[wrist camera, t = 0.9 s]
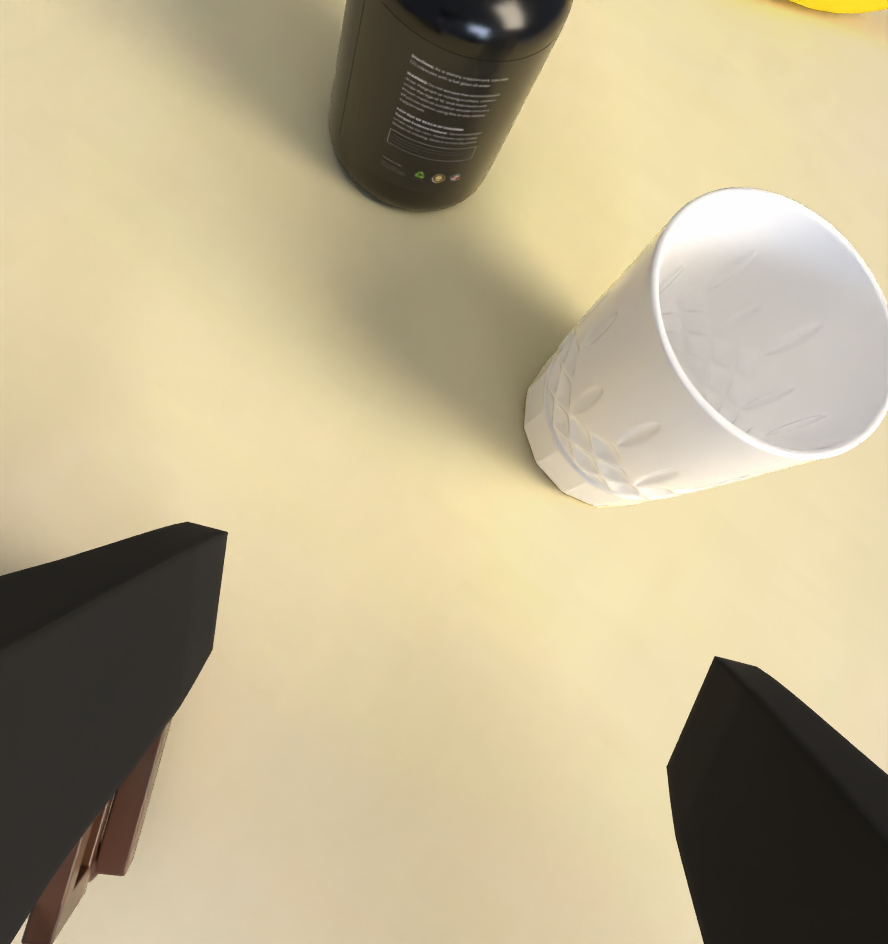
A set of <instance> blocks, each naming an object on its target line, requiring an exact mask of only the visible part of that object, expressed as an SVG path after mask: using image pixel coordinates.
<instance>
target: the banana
mask: <svg viewBox="0 0 888 944" xmlns="http://www.w3.org/2000/svg"><path fill="white" fill-rule="evenodd" d="M789 1H791V2H794V3H797V4H800V5H803V6H806V7H808V8H811V9H815V10H821V11H827V12H832V13H864V12H871V11H878V10H883V9H887V8H888V0H789Z"/></svg>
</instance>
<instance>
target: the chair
mask: <svg viewBox="0 0 888 944" xmlns="http://www.w3.org/2000/svg"><path fill="white" fill-rule="evenodd" d="M171 720H172V718H171ZM171 720H170V721H169V722H168V724H167V725H166V726H165V728H164V729H163V730H162V732H161V733H160V734H159V736H158V737H157V738H156V740H155V741H154V742H153V744H152V745H151V746H150V748H149V749H148V750H147V752H146V753H145V754H144V756H143V757H142V758H141V760H140V761H139V762H138V763H137V765H136V766H135V767H134V769H133V770H132V771H131V773H130V774H129V775H128V777H127V778H126V779H125V780H124V782H123V783H122V784H121V786H120V787H119V788H118V790H117V791H116V793H115V797H114V800H113V803H112V807H111V810H110V814H109V817H108V821H107V824H106V828H105V831H103V829H104V826H105V822H106V819H107V815H108V812H109V809H110V805H111V802H112V798H113V796H112V797H111V799H110V800H109V801H108V803H107V804H106V805H105V807H104V808H103V809H102V811H101V812H100V813H99V815H98V816H97V817H96V818H95V820H94V821H93V822H92V824H91V825H90V826H89V828H88V829H87V830H86V832H85V833H84V834H83V835H82V837H81V838H80V839H79V841H78V842H77V843H76V845H75V846H74V847H73V849H72V850H71V852H70V853H69V855H68V856H67V857H66V859H65V860H64V862H63V863H62V864H61V866H60V867H59V869H58V870H57V872H56V873H55V874H54V876H53V877H52V879H51V880H50V882H49V883H48V885H47V886H46V888H45V890H44V891H43V893H42V894H41V896H40V898H39V899H38V901H37V902H36V904H35V905H34V907H33V909H32V910H31V912H30V915H29V918H28V922H27V925H26V928H25V931H24V935H23V938H22V944H52V943H53V942H54V940H55V939H56V937H57V936H58V934H59V932H60V931H61V929H62V928H63V926H64V925H65V923H66V922H67V920H68V918H69V917H70V915H71V914H72V912H73V911H74V909H75V907H76V906H77V904H78V903H79V901H80V899H81V898H82V896H83V895H84V893H85V891H86V888H87V884H88V882H90V881H91V880H93V879H94V878H95V877H96V876H97V874H107V875H116V876H124V875H125V874H126V872H127V870H128V868H129V866H130V864H131V862H132V860H133V857H134V854H135V850H136V847H137V843H138V839H139V836H140V832H141V828H142V825H143V821H144V818H145V814H146V810H147V807H148V803H149V799H150V796H151V792H152V789H153V785H154V781H155V778H156V774H157V770H158V767H159V763H160V760H161V756H162V752H163V749H164V745H165V741H166V738H167V734H168V731H169V727H170V723H171Z"/></svg>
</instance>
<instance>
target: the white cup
mask: <svg viewBox="0 0 888 944" xmlns="http://www.w3.org/2000/svg"><path fill="white" fill-rule="evenodd" d="M887 410H888V305H887V302H886V300H885V297H884V295H883V293H882V291H881V289H880V286H879V284H878V283H877V281H876V279H875V277H874V275H873V274H872V272H871V270H870V269H869V267H868V266H867V264H866V263H865V261H864V260H863V258H862V257H861V256H860V254H859V253H858V252H857V251H856V249H855V248H854V247H853V246H852V245H851V243H850V242H849V241H848V240H847V239H846V238H845V237H844V236H843V235H842V234H841V233H840V232H839V231H838V230H837V229H836V228H835V227H834V226H832V225H831V224H830V223H829V222H828V221H826V220H825V219H824V218H822V217H821V216H820V215H818V214H817V213H815V212H814V211H812V210H811V209H809V208H808V207H806V206H804V205H802V204H801V203H799V202H797V201H795V200H793V199H790V198H788V197H786V196H783V195H780V194H777V193H774V192H771V191H767V190H762V189H757V188H747V187H732V188H724V189H719V190H715V191H711V192H708V193H706V194H703V195H701V196H699V197H697V198H695V199H694V200H692V201H690V202H689V203H687V204H686V205H685V206H683V207H682V208H681V209H680V210H679V211H678V212H677V213H676V214H675V215H674V216H673V217H672V218H671V219H670V221H669V222H668V223H667V224H666V225H665V226H664V227H663V228H662V229H661V231H660V232H659V233H658V234H657V235H656V236H655V237H654V238H653V240H652V241H651V242H650V243H649V244H648V245H647V246H646V247H645V248H644V250H643V251H642V252H641V253H640V254H639V255H638V256H637V257H636V258H635V259H634V261H633V262H632V263H631V264H630V265H629V266H628V267H627V268H626V269H625V270H624V272H623V273H622V274H621V275H620V276H619V277H618V278H617V279H616V280H615V281H614V282H613V284H612V285H611V286H610V287H609V288H608V289H607V290H606V291H605V292H604V293H603V295H602V296H601V297H600V298H599V299H598V300H597V301H596V302H595V303H594V305H593V306H592V307H591V308H590V309H589V310H588V311H587V313H586V314H585V315H584V316H583V318H582V319H581V320H580V321H579V323H578V324H577V325H576V326H575V327H574V329H573V330H572V331H571V332H570V333H569V334H568V335H567V337H566V338H565V339H564V340H563V342H562V343H561V344H560V346H559V348H558V350H557V351H556V352H555V353H554V354H553V355H552V356H551V357H550V359H549V360H548V361H547V362H546V363H545V364H544V366H543V367H542V369H541V371H540V372H539V374H538V375H537V377H536V378H535V380H534V381H533V383H532V384H531V386H530V388H529V389H528V391H527V397H526V408H525V419H524V429H525V432H526V435H527V438H528V441H529V444H530V447H531V449H532V452H533V455H534V458H535V461H536V463H537V465H538V466H539V467H540V468H541V469H542V470H543V471H544V472H545V474H546V475H547V476H548V477H549V478H550V479H551V480H552V481H553V482H554V483H555V485H556V486H557V487H558V488H559V489H560V490H561V491H562V492H563V493H565V494H568V495H570V496H572V497H574V498H577V499H579V500H581V501H583V502H586V503H588V504H590V505H592V506H595V507H612V506H631V505H635V504H639V503H642V502H646V501H649V500H658V499H664V498H669V497H674V496H678V495H683V494H686V493H690V492H695V491H700V490H704V489H708V488H713V487H718V486H722V485H725V484H729V483H733V482H737V481H740V480H744V479H748V478H752V477H755V476H759V475H763V474H767V473H771V472H774V471H778V470H782V469H786V468H790V467H794V466H797V465H801V464H805V463H809V462H813V461H817V460H821V459H825V458H829V457H833V456H836V455H839V454H842V453H844V452H846V451H848V450H850V449H852V448H854V447H855V446H857V445H858V444H860V443H861V442H863V441H864V440H865V439H866V438H867V437H868V436H870V435H871V433H872V432H873V431H874V430H875V429H876V428H877V426H878V425H879V424H880V422H881V421H882V419H883V418H884V416H885V414H886V412H887Z"/></svg>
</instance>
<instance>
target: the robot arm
mask: <svg viewBox="0 0 888 944" xmlns="http://www.w3.org/2000/svg"><path fill="white" fill-rule="evenodd" d="M227 534H228V532H226V531H222V530H218V529H214V528H210V527H206V526H202V525H198V524H194V523H190V522H184V523H179V524H174V525H170V526H167V527H163V528H159V529H156V530H153V531H149V532H146V533H143V534H140V535H137V536H133V537H130V538H127V539H124V540H121V541H118V542H115V543H111V544H108V545H105V546H102V547H99V548H95V549H92V550H89V551H86V552H83V553H79V554H76V555H73V556H70V557H67V558H63V559H60V560H57V561H53V562H50V563H46V564H42V565H39V566H35V567H31V568H28V569H24V570H20V571H17V572H13V573H10V574H6V575H2V576H0V944H11V942H12V940H13V939H14V937H15V936H16V934H17V932H18V931H19V929H20V928H21V926H22V925H23V923H24V921H25V920H26V918H27V917H28V915H29V913H30V912H31V910H32V909H33V907H34V905H35V904H36V902H37V901H38V899H39V898H40V896H41V894H42V893H43V891H44V890H45V888H46V886H47V885H48V883H49V882H50V880H51V879H52V877H53V876H54V874H55V873H56V872H57V870H58V869H59V867H60V866H61V864H62V863H63V862H64V860H65V859H66V857H67V856H68V855H69V853H70V852H71V850H72V849H73V847H74V846H75V845H76V843H77V842H78V841H79V839H80V838H81V837H82V835H83V834H84V833H85V832H86V830H87V829H88V828H89V826H90V825H91V824H92V822H93V821H94V820H95V818H96V817H97V816H98V815H99V813H100V812H101V811H102V809H103V808H104V807H105V805H106V804H107V803H108V801H109V800H110V799H111V797H112V796H113V795H114V794H115V792H116V791H117V790H118V788H119V787H120V786H121V784H122V783H123V782H124V780H125V779H126V778H127V777H128V775H129V774H130V773H131V771H132V770H133V769H134V767H135V766H136V765H137V763H138V762H139V761H140V760H141V758H142V757H143V756H144V754H145V753H146V752H147V750H148V749H149V748H150V746H151V745H152V744H153V742H154V741H155V740H156V738H157V737H158V736H159V734H160V733H161V732H162V730H163V729H164V728H165V726H166V725H167V724H168V722H169V721H170V720H171V718H172V717H173V716H174V714H175V713H176V712H177V710H178V709H179V707H180V706H181V704H182V702H183V701H184V699H185V697H186V696H187V694H188V692H189V690H190V689H191V687H192V685H193V684H194V682H195V680H196V678H197V677H198V675H199V673H200V671H201V669H202V668H203V666H204V664H205V662H206V660H207V659H208V657H209V655H210V653H211V651H212V649H213V641H214V634H215V626H216V618H217V611H218V603H219V596H220V588H221V580H222V573H223V565H224V557H225V550H226V542H227ZM667 775H668V784H669V793H670V802H671V809H672V816H673V823H674V829H675V836H676V840H677V844H678V848H679V852H680V856H681V860H682V864H683V868H684V872H685V875H686V879H687V883H688V887H689V890H690V894H691V898H692V902H693V905H694V909H695V913H696V916H697V920H698V924H699V927H700V931H701V935H702V938H703V942H704V944H888V775H887V774H886V773H885V772H884V771H883V770H881V769H880V768H879V767H878V766H877V765H876V764H874V763H873V762H872V761H871V760H870V759H869V758H867V757H866V756H865V755H864V754H863V753H862V752H860V751H859V750H858V749H857V748H856V747H855V746H853V745H852V744H851V743H850V742H849V741H848V740H847V739H845V738H844V737H843V736H842V735H841V734H840V733H838V732H837V731H836V730H835V729H834V728H833V727H831V726H830V725H829V724H828V723H827V722H826V721H824V720H823V719H822V718H821V717H820V716H819V715H818V714H816V713H815V712H814V711H813V710H812V709H811V708H809V707H808V706H807V705H806V704H805V703H803V702H802V701H801V700H800V699H799V698H797V697H796V696H795V695H794V694H793V693H791V692H790V691H789V690H788V689H787V688H785V687H784V686H783V685H781V684H780V683H779V682H778V681H776V680H775V679H774V678H772V677H771V676H770V675H768V674H767V673H765V672H764V671H762V670H761V669H760V668H758V667H756V666H752V665H748V664H744V663H740V662H736V661H732V660H728V659H724V658H720V657H717V656H715V657H714V659H713V661H712V664H711V666H710V668H709V671H708V673H707V675H706V678H705V680H704V682H703V684H702V687H701V689H700V691H699V694H698V696H697V698H696V701H695V703H694V705H693V707H692V710H691V712H690V714H689V717H688V719H687V721H686V724H685V726H684V728H683V730H682V733H681V735H680V737H679V740H678V742H677V744H676V747H675V749H674V751H673V753H672V756H671V758H670V760H669V763H668V765H667Z"/></svg>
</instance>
